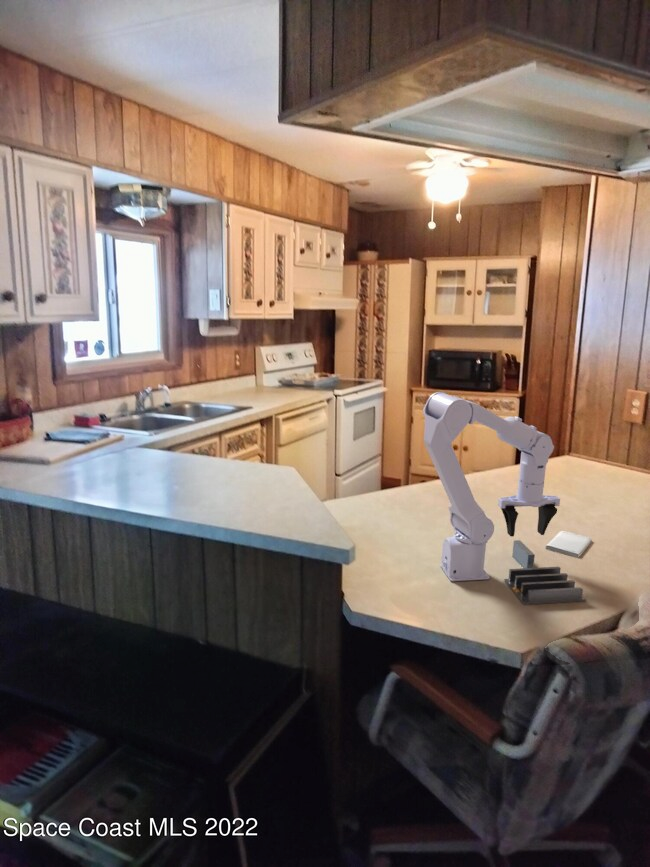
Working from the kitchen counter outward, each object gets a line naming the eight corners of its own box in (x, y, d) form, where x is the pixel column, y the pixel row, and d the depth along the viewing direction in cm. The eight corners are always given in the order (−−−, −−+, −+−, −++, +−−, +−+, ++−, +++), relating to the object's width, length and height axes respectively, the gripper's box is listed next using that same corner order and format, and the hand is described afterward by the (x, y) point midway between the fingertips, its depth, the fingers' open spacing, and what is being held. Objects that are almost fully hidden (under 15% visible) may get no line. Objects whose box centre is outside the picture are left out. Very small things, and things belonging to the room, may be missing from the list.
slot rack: (524, 604, 130) (525, 592, 129) (504, 581, 140) (505, 569, 139) (585, 601, 132) (587, 588, 131) (561, 578, 142) (563, 566, 141)
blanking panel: (532, 572, 145) (534, 554, 143) (526, 572, 144) (528, 555, 143) (518, 556, 152) (520, 540, 151) (512, 557, 152) (513, 540, 151)
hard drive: (578, 554, 152) (592, 537, 161) (545, 544, 156) (560, 529, 166) (578, 560, 152) (591, 543, 162) (545, 550, 157) (560, 535, 166)
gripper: (508, 487, 138) (503, 542, 141) (569, 485, 140) (562, 539, 143) (496, 477, 145) (491, 530, 148) (554, 475, 147) (548, 527, 150)
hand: (525, 534), depth 146 cm, fingers open, 7 cm apart
